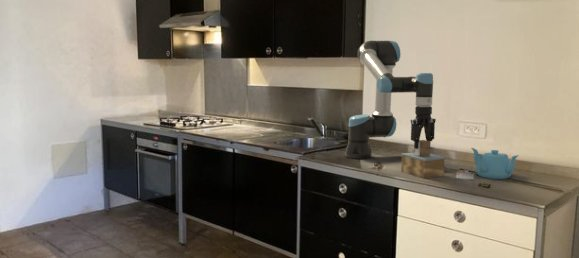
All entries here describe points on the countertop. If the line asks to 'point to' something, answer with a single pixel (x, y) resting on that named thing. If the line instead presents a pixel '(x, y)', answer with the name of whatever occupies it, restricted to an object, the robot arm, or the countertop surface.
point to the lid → (426, 158)
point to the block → (424, 148)
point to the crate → (422, 167)
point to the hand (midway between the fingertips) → (422, 154)
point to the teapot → (494, 165)
